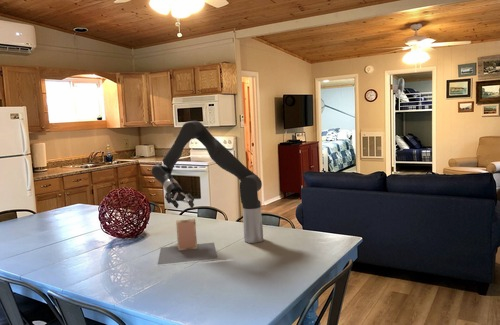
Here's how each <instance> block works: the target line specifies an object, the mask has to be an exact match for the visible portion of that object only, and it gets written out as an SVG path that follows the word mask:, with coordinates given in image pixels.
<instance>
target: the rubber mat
mask: <svg viewBox="0 0 500 325" xmlns="http://www.w3.org/2000/svg"><path fill="white" fill-rule="evenodd" d="M157 259H158V261H157V263H156V264H157V265H158V266H160V265H163V267H164V266H167V265H166V264H173V265H175V266H176V264H177V263H178V264H179V263H183V264H186V263H188V262H192V264H193V263H195V262H196V261H202V263H203V262H204V261H205V260H207V261H208V260H211V261H213V262H214V260H215V259H218V254H217V250H216V245H215V242H207V243H197V249H187V250H178V245H175V246H164V247H160V251H159V255H158V258H157Z"/></svg>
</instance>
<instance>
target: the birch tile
mask: <svg viewBox="0 0 500 325" xmlns="http://www.w3.org/2000/svg"><path fill="white" fill-rule="evenodd" d="M175 226H176V237H177V238H176V239H177V240H176V241H177V246H178V250H187V249H197V244H198V240H197V224H196V219H195V218H192V219H190V218H189V219H179V220H178V219H177V220H176V221H175Z"/></svg>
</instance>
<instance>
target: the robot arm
mask: <svg viewBox="0 0 500 325" xmlns="http://www.w3.org/2000/svg"><path fill="white" fill-rule="evenodd" d="M194 139H196V140H197V141H199V142H200V143H201V144H202V145H203V146H204V147H205V149H206V151H207V154H208V155H209V158H210V159H211V160H212V161H213V162H214V163H215V164H216V165H217V166H218V167H219V168H221V169H223V170H224V171H225V172H228V173H230V174H232V175H233V176H235V177H236V178H237V179H238V180H239V194H240V195H239V196H240V203H241V205H242V222H243V240H244V242H245V243H249V244H255V243H256V244H257V243H261V242H264V225H263V222H262V221H263V220H262V204H261V203H262V202H261V201H260V200H259V195H258V194H259V193H258V192H259V191H260V190H261V189H262V186H263V185H262V184H263V182H262V180H261V178H260V177H259V176H258V175H257V174H256V173H254V172H253V171H252V170H250V169H249V168H247V166H245V165H244V163H243V162H241V161H240V160H239V158H237V157H236V156H235V155H234V154H233V153H232V152H231V151H230V150H229V149H228V148H227V147H226V146H225V145H223V144H222V143H221V142H220V141H219V140H218V139H217V138H216V137H215V136H214V135H212V134H211V132H209V130H208V129H207V127H205V125H204V123H202V122H200V121H198V120H190V121H189V120H188V121H186V122H184V123H183V125H182V127H181V128H180V130H179V132H178V134H177V136H176V139H175V140H174V143H173V144H172V145H171V147H170V148H169V150H168V152H166V154H165V156H163V159H162V163H163V165H162V164H154V165H153V166H152V167H151V168H152V169H151V174H152V176H153V178H154V179H155V180H156V181H158V182H159V183H160V184H161V185H162V187H163V188H164V190H165V194H164V198H165V201H166V202H167V204H171V205H173V207H174V208H175V209H178V208H179V206H180V205H179V202H182V203H187V204H188V206H189V207H190V208H191V209H193V208H194V206H195V203H194V201H195V198H194V197H193V196H192V194H191V193H190V192H188V193H186V194H185V192H184V191H183V188H182V186H181V185H180V184H179V182H178V181H177V180H176V179H175V178H174V177H173V176H174V175H172V173H173V170H174V167H175V165H176V164H177V163H178V162H179V160H180V159H181V157H182V155H183V152H184V149H185V147H186V145H187V144H188V143H189V142H190V141H191V140H194Z"/></svg>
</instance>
